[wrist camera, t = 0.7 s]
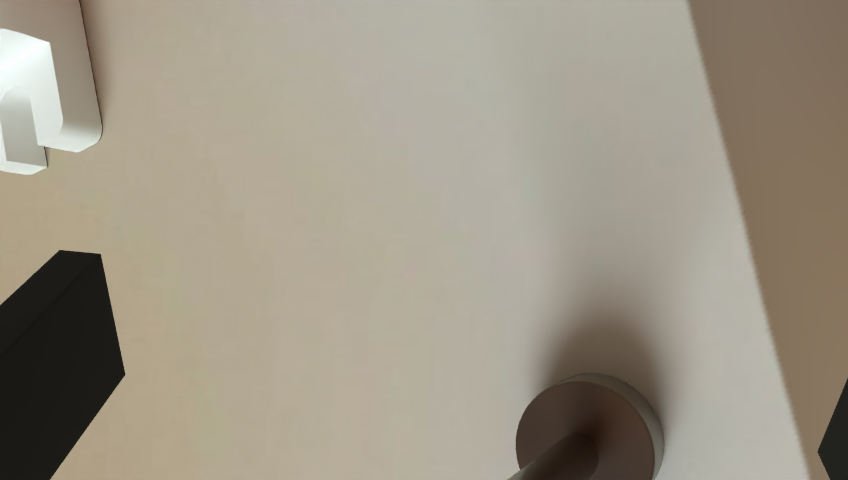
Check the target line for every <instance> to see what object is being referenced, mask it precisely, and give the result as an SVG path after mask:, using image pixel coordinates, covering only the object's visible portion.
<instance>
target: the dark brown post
mask: <svg viewBox="0 0 848 480" xmlns="http://www.w3.org/2000/svg"><path fill="white" fill-rule="evenodd" d="M663 452H664V441H663V434H662V430H661V426H660V423H659V421H658V418H657V416H656V414H655V412H654V411H653V409H652V407H651V406H650V404H649V403H648V402H647V400H646V399H645V398H644V397H643V396H642V395H641V394H640V393H639V392H638V391H636V390H635V389H634V388H633V387H631V386H630V385H628V384H626V383H625V382H623V381H620V380H618V379H616V378H613V377H610V376H606V375H600V374H583V375H578V376H574V377H571V378H569V379H566V380H564V381H562V382H560V383H558V384H556V385H554V386H552V387H550V388H548V389H546V390H544V391H543V392H541V393H540V394H539V395H538V396H536V397H535V398H534V399H533V400H532V401H531V403H530V404H529V405H528V407H527V408H526V410H525V411H524V413H523V415H522V417H521V420H520V422H519V426H518V429H517V435H516V454H517V460H518V464H519V468H520V471H518V472H517V473H516V474H514V475H513V476H512V477H510V478H509V479H508V480H655V478H656V476H657V474H658V472H659V469H660V467H661V463H662V459H663Z"/></svg>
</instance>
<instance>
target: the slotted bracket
mask: <svg viewBox="0 0 848 480" xmlns="http://www.w3.org/2000/svg"><path fill="white" fill-rule="evenodd" d="M101 134H102V124H101V118H100V113H99V107H98V102H97V96H96V91H95V85H94V80H93V74H92V69H91V63H90V58H89V52H88V46H87V41H86V35H85V30H84V24H83V19H82V13H81V8H80V2H79V0H0V171H5V172H12V173H19V174H26V175H32V174H34V173H36V172H38V171H40V170H43V169H45V168H47V162H46V156H45V150H44V146H45V147H51V148H56V149H62V150H67V151H72V152H80V151H82V150H84V149H86V148H88V147H90V146H93V145H94V144H96V143H97V142H98V141H99V139H100V137H101Z"/></svg>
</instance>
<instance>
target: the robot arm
mask: <svg viewBox="0 0 848 480" xmlns="http://www.w3.org/2000/svg"><path fill="white" fill-rule="evenodd" d="M124 376H125V371H124V366H123V361H122V356H121V351H120V347H119V342H118V337H117V332H116V327H115V322H114V317H113V312H112V307H111V302H110V297H109V293H108V288H107V283H106V278H105V273H104V268H103V263H102V258H101V254H95V253H85V252H74V251H64V250H59V251H58V252H57V253H56V254H55V255H54V256H53V257H52V258H51V259H50V260H48V261H47V262H46V263H45V264H44V265H43V266H42V267H41V268H40V269H39V270H38V271H37V272H36V273H34V274H33V275H32V276H31V277H30V278H29V279H28V280H27V281H26V282H25V283H24V284H23V285H22V286H21V287H19V288H18V289H17V290H16V291H15V292H14V293H13V294H12V295H11V296H10V297H9V298H8V299H7V300H5V301H4V302H3V303H2V304H1V305H0V480H50V479H51V477H52V476H53V475H54V473H55V472H56V470H57V469H58V468H59V466H60V465H61V463H62V462H63V461H64V459H65V458H66V456H67V455H68V454H69V452H70V451H71V449H72V448H73V447H74V445H75V444H76V442H77V441H78V440H79V438H80V437H81V435H82V434H83V433H84V431H85V430H86V429H87V427H88V426H89V424H90V423H91V422H92V420H93V419H94V417H95V416H96V415H97V413H98V412H99V410H100V409H101V408H102V406H103V405H104V403H105V402H106V401H107V399H108V398H109V396H110V395H111V394H112V392H113V391H114V390H115V388H116V387H117V385H118V384H119V383H120V381H121V380H122V378H123V377H124ZM818 454H819V456H820V458H821V460H822V463H823V465H824V467H825V469H826V471H827V473H828V475H829V478H830V480H848V379H847V381H846V384H845V386H844V389H843V391H842V394H841V396H840V398H839V401H838V403H837V406H836V408H835V411H834V413H833V415H832V418H831V421H830V423H829V425H828V427H827V430H826V432H825V435H824V437H823V440H822V442H821V445H820V447H819V449H818Z"/></svg>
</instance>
